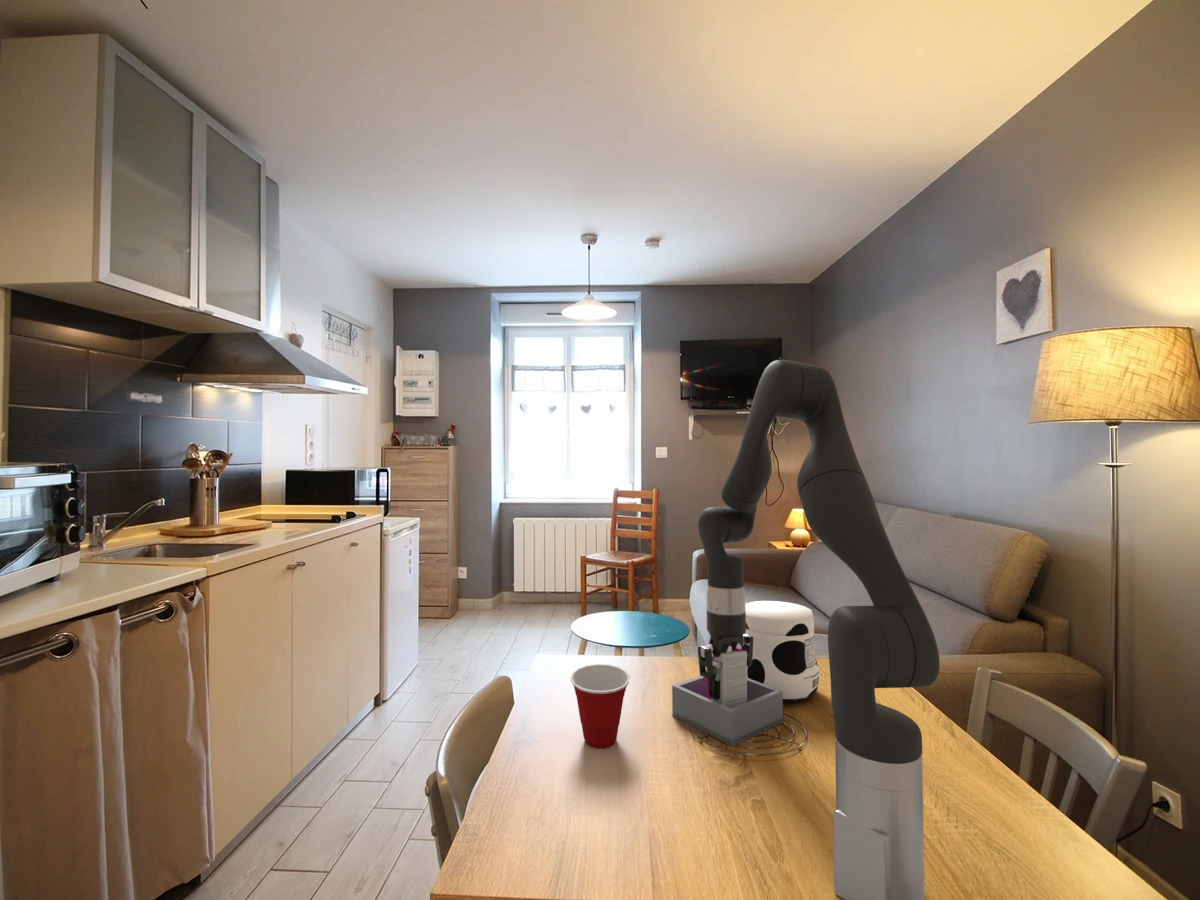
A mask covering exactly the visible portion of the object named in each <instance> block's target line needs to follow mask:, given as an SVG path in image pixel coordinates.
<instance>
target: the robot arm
mask: <svg viewBox="0 0 1200 900" xmlns="http://www.w3.org/2000/svg"><path fill="white" fill-rule="evenodd" d="M753 396H754V397H753V401H752V403H751V406H750V410H749V413H748V417H747V420H746V424H745V428H744V432H743V436H742V439H741V442H740V443H741V444H740V447H739V449H738V452H737V455H736V458H735V460H734V463H733V465H732V467H731V469H730V471H729V473H728V476H727V477H726V479H725V482H724V484H723V486H722V489H721V493H720V494H721V499H722V501H723V502H724V503H725V505H727V506H711V507H707V508H705V509H704V510H702V512H701V513H700V515H699V517H698V523H697V529H698V533H699V537H700V541H701V544H702V548H703V551H704V556H705V560H706V564H707V590H706V630H707V632H708V634H709V635H710V638H709V642H708V644H707V645H702V644H700V645H698V646H697V653H698V654H697V656H698V668H699V676H703V677H705V678H708V687H709V688H708V693H709V695H710V697H711V698H713V699H715V700H718V699H720V680H719V679H720V676H721V669H722V666H723V663H722V662H720V663H717V662H714V661H713V655H714V657H720V654H721V653H725V654H728V653H731V651H732V650H734V649H735V650H737V651H738V650H741V649H742V650H744V651H746V652H747V666H751V665H752V656H753V636H750V635H747V634H745V632H746V603H747V602H746V591H745V566H744V564H745V563H744V560H743V558H742V557H741V556H740V555H737V554H734V553H728V552H727V551H726V550H725V547H724V544H725V543H739V542H742V541H745V540H746V539H748V538H749V537H750V535H751V534H752V532H753V530H754V526H755V519H756V514H757V508H758V507H757V506H758V502H759V501H760V499H761V497H762V496H763V493H764V492H765V489H766V488H767V486H768V484H769V482H770V479H771V476H772V472H773V471H772V470H773V466H772V465H773V464H772V463H773V462H772V457H771V451H770V447H769V436H768V435H769V431H770V428H771V425H772V423H773V422H774V420H775V418H776V417H780V418H787V419H793V420H800V421H802V422H803V423H804V424H805V425H806V428H807V430H808V432H809V436H810V440H811V441H810V442H811V445H810V448H809V450H808V452H807V454H806V456H805V458H804V460H803V462H802V464H801V467H800V469H799V471H798V475H797V481H796V482H797V484H796V487H797V491H798V495H799V499H800V503H801V506H802V510H803V512H804V515H805V518H806V521H807V524H808V526H809V528H810V529H811V530H812V532H813V534H815V536H816V537H817V538H818V539H819V540H820V541H821V543H823V544H824V545H825V546H826V548H828V549H829V550H830V551H831V552H832V553H833V554H834V555H835V556H836V557H838V559H840V560H841V561H842V562H843V563H844V564H845V565H846V566H847V567H848V568H849V569H850V570H851V571H853V573H854V575H856V577H857V578H858V580H859V581H860V582H861V583H862V585H863V587H864V589H865V590H866V592H867V595H868V596H869V598H870V601H871V602H872V605H847V606H846V605H843V606H840V607H837V608H836V609H834V611H833V612H832V614H831V616H830V618H829V621H828V622H829V623H828V627H827V649H828V651H827V652H828V661H829V673H830V674H829V675H830V676H829V677H830V690H831V691H830V698H831V700H830V701H831V708H832V714H833V721H834V735H835V736H834V737H835V738H834V739H835V741H834V743H835V810H834V811H833V814H832V815H833V816H832V817H833V819H832V820H833V821H832V822H833V876H834V877H833V882H834V885H833V887H834V888H833V889H834V893H835V895H837V896H839V897H840V898H841V899H843V900H925V897H926V896H925V895H926V894H925V842H924V839H925V836H924V786H923V785H924V784H923V782H924V781H923V779H924V778H923V776H924V773H923V760H924V759H923V736H922V735H923V734H922V731H921V728H920V727H919V725H918V723H916V721H914V720H913V719H912V718H911V717H909V716H908V715H907V714H905V713H903V712H902V711H900V710H897V709H895V708H892V707H889V706H887V705H884V704H881V703H879V702H877V699H876V690H875V689H902V688H903V689H904V688H906V689H907V688H908V689H909V688H923V687H927V686H930V685H933V684H934V683H935V681H936V680H937V678H938V676H939V673H940V669H941V668H940V667H941V662H940V652H939V648H938V643H937V640H936V637H935V634H934V632H933V629H932V626H931V624H930V621H929V619H928V617H927V615H926V613H925V611H924V609H923V607H922V605H921V603H920V601H919V598H918V597H917V595H916V594H915V593H916V592H915V591H914V589H913V588H912V586H911V584H910V582H909V580H908V578H907V575H906V574H905V572H904V570H903V568H902V566H901V563H900V562H899V560H898V557H897V556H896V554H895V551H894V549H893V546H892V544H891V542H890V539H889V537H888V534H887V532H886V529H885V527H884V524H883V522H882V520H881V519H882V518H881V516H880V514H879V511H878V508H877V505H876V502H875V499H874V497H873V494H872V491H871V489H870V486H869V484H868V481H867V478H866V476H865V474H864V472H863V470H862V467H861V465H860V463H859V461H858V457H857V454H856V452H855V449H854V447H853V443H852V440H851V437H850V435H849V432H848V430H847V429H848V428H847V426H846V425H847V424H846V421H845V419H844V414H843V410H842V405H841V401H840V397H839V394H838V389H837V387H836V383H835V380H834V378H833V376H832V375H831V373H830V372H829V371H828V370H827V369H826V368H824V367H822V366H819V365H815V364H810V363H805V362H799V361H793V360H788V359H787V360H786V359H776V360H774V361H772V362H770V363H769V364H768V365H767V366H766V367H765V369H764V370H763V372H762V374H761V377H760V378H759V381H758V385H757V387H756V390H755V393H754V395H753ZM715 666H716V667H717V669H716V672H715V673H713V671H714V667H715Z"/></svg>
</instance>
